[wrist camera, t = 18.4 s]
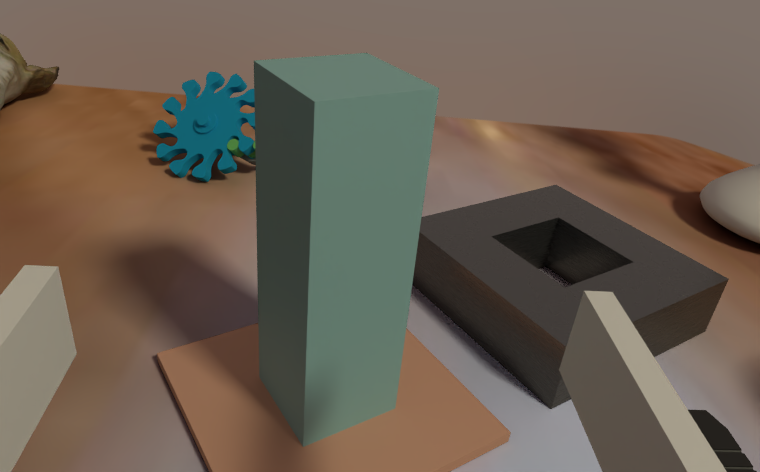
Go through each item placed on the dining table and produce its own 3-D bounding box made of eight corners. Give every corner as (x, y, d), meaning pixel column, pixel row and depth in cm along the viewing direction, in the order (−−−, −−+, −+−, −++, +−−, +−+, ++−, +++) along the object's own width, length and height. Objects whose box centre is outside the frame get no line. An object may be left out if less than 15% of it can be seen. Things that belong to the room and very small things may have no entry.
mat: (158, 361, 32) (156, 353, 32) (367, 297, 39) (368, 289, 38) (255, 571, 23) (255, 561, 23) (508, 441, 30) (510, 432, 29)
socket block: (399, 272, 42) (405, 221, 40) (544, 230, 49) (556, 184, 47) (551, 408, 32) (569, 349, 30) (705, 331, 39) (728, 279, 37)
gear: (127, 144, 52) (194, 51, 53) (166, 172, 57) (226, 86, 59) (221, 201, 48) (291, 98, 49) (254, 225, 53) (315, 131, 55)
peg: (259, 377, 31) (254, 60, 23) (344, 347, 34) (367, 52, 26) (303, 447, 28) (314, 101, 20) (395, 408, 30) (439, 88, 22)
